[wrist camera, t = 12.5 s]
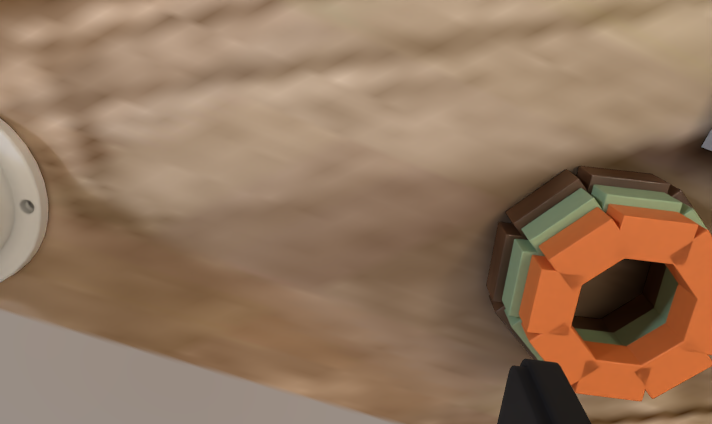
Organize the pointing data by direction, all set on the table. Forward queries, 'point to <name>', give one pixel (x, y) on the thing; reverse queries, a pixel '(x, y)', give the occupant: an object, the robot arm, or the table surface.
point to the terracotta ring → (595, 255)
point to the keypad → (708, 142)
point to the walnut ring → (549, 198)
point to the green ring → (561, 219)
